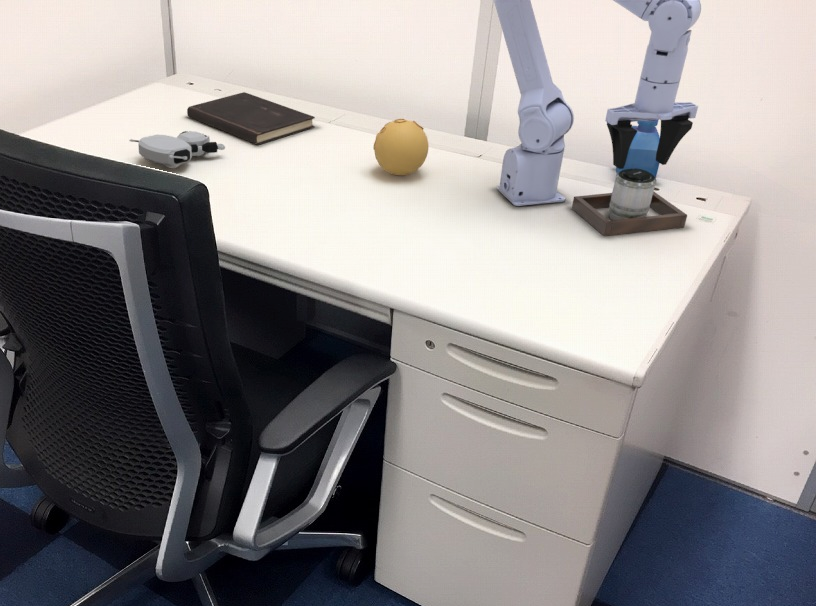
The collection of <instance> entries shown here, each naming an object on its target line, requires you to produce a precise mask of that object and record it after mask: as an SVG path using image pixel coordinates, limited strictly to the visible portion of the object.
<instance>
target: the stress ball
mask: <svg viewBox="0 0 816 606" xmlns="http://www.w3.org/2000/svg"><path fill="white" fill-rule="evenodd" d="M424 129H425V128H424V127H423V126H422V125H420V124H419V123H418V122H417V121H415V120H413V121H412V120H409V119H405V118H397V119H394V120H393V121H388V122H387V123H386V124H384V126H383V127H381V129H380V131H379V132H377V133H376V136H375V139H374V142H373V150H374V156H375V159H376V161H377V163H378V165H379V166H380V167H381V168H382V169H383V170H384V171H385V172H387V173H389V174H391V175H394V176H407V175H411V174H413V173H415V172H417V170H418V169H420V168H421V167H422V166H423V165H424V163H425V162H426V160H427V157H428V154H429V140H428V135H427V134H426V132H425V131H424Z"/></svg>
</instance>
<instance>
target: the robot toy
mask: <svg viewBox="0 0 816 606" xmlns="http://www.w3.org/2000/svg"><path fill="white" fill-rule="evenodd" d="M129 142H131V143H133V142H134V143H137V144H138V154H139V156H141V157H142V158H143V159H144V160H147V161H149V162H151V163H154V164H157V165H163V166H166V167H167V168H169V169H177V168H178V167H180V166H181V165H182V164H185V163H189V162H190V161H191V159H192V158H193V157H197V158H198V157H202V156H204V154H205V153H207V154H213V153H218V150H220V151H223V150H225V149H226V145H225V144H223V143H217V142H216V141H211V139H210V136H209V135H206V134H204V133H201V132H198V131H192V130H189V131H187V130H185V131H182V132H181V133H179V134H178V135H177V136H172V135H166V134H153V135H148V136H143V137H141V138H140V139H139V140H138V139H132V138H130V139H129Z"/></svg>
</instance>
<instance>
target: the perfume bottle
mask: <svg viewBox="0 0 816 606" xmlns="http://www.w3.org/2000/svg"><path fill="white" fill-rule="evenodd" d="M636 123H637V125H632V128H634V129H635V130H637V133H636V135H635V137H634V139H633V141H632V143H631V145H630V148H629V151H628V155H627V159H626V163H625V166H624V168H623V169H619V168H617V167H616V166H615V172H616V175H617V174H618V173H619V172H620V171H622V170H625V169H631V168H633V169H634V168H637V169H643V170H646V171H648V172H650V173H651V174H653V175H654V177H655V178H656V179H657V176H658V171H659V168H660V165H661V164H660V163H659V162H657V161H656V153H657V148H658V144H659V139H660V133H659V131H658V129H657V127H658V124H659V120H647V121H636Z"/></svg>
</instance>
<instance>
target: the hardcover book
mask: <svg viewBox="0 0 816 606" xmlns="http://www.w3.org/2000/svg"><path fill="white" fill-rule="evenodd" d="M186 113H187V117H188V118H190V119H192V120H196V121H198V122H201V123H203V124H206V125H208V126H210V127H212V128H214V129H215V128H216V129H218V130H221V131H222V132H225V133H228V134H231V135H233V136H235V137H238V138H240V139H243V140H245V141H247V142H249V143H252V144H255V145H257V146H260V145H263V144H266V143H270V142H273V141H275V140H279V139H282V138H286V137H289V136H292V135H295V134H298V133H301V132H305V131H308V130H311V129H315V128H316V126H315V125H313V120H314V119H316V117H315V116H313V115H311V114H308V113H304V112H302V111H300V110H297V109H294V108H290V107H288V106H285V105H282V104H279V103H276V102H274V101H271V100H268V99H265V98H262V97H259V96H256V95H254V94H251V93H248V92H246V91H243V92H240V93H239V92H238V93H235V94H232V95H228V96H224V97H220V98H218V99H217V98H216V99H212V100H209V101H206V102H205V101H204V102H201V103H197V104H193V105H190V106H188V107H187V109H186Z"/></svg>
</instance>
